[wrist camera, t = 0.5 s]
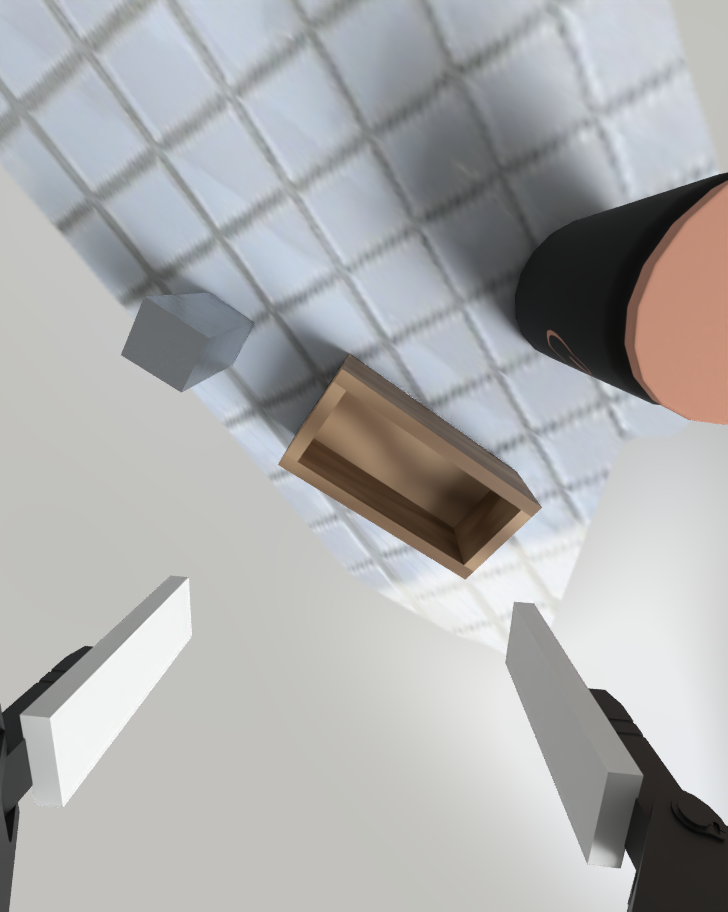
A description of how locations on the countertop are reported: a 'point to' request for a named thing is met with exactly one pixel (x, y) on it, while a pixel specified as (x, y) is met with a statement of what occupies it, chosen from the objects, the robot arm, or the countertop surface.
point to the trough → (408, 470)
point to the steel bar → (186, 337)
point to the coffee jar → (640, 298)
